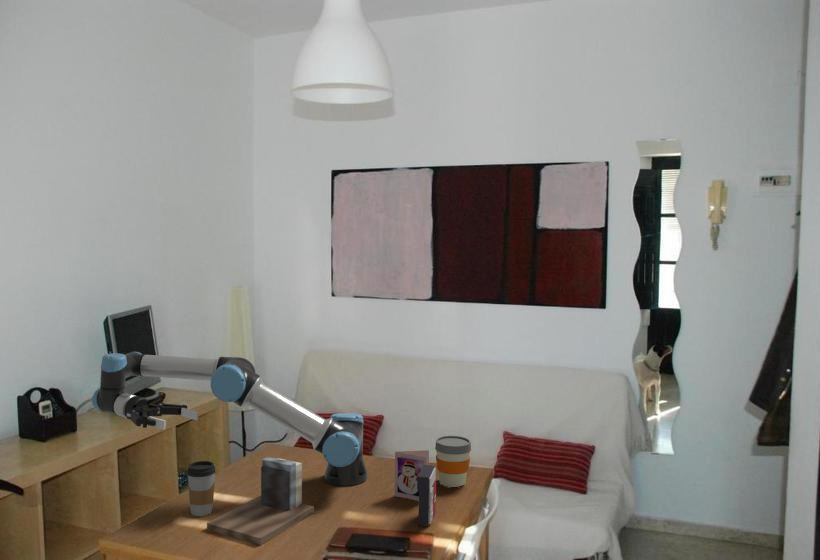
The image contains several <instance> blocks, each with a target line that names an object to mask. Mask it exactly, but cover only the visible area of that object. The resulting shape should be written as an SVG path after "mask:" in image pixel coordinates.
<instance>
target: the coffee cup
mask: <svg viewBox="0 0 820 560" xmlns="http://www.w3.org/2000/svg"><path fill="white" fill-rule="evenodd" d="M186 474H187V479H188V481H187V482H188V484H187V485H188V486H187V487H188V497H189V498H188V499H189V506H190V513H191V515H192V516H193V515H194V516H193V517H197V516H201V517H205V515H206V516H209V515H210V514H211V513H212V511H213V507H214V506H213V505H214V495H215V478H216V477H215V475H216V466H215V464H214V462H212V461H208V460H199V461H195V462H191V463H190V464H189V465H188V468H187V472H186ZM208 514H209V515H208Z"/></svg>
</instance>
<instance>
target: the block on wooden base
mask: <svg viewBox="0 0 820 560" xmlns="http://www.w3.org/2000/svg"><path fill="white" fill-rule="evenodd" d="M261 461H262V463H261V465H262V466H261V467H260V473H261V474H260V495H259V496H257V497H255V498H253V499H251V500H249V501H247V502H245V503H242V504H240V505H239V506H237V507H235V508H233V509H231V510H230V511H228V512H226V513H225V512H224V514H221V515H220V516H218V517H216V518H214V519H212V520H210V521H208V522H206V530H207V531H210V532H213V533H216V534H220V535H224V536H227V537H231V538H234V539H237V540H241V541H244V542H248V543H250V544H255V545H258V546H263V545H264V544H266V543H268V542H269V541H271V540H272V539H274V538H276V537H277V536H279V535H280V534H282V533H283V532H286V531H287V530H288V529H291V528H292V527H293V526H295V525H297V524H298V523H299V522H301V521H303V520H304V518H305V519H307V518H308V517H310V516H311V515H312V513H313V512H314V513H315V506H314V505H310V504H306V503H303V462H298V461H293V460H289V459H285V458H280V457H275V458H274V457H269V456H266V457H264V458H262V459H261ZM314 513H313V514H314ZM310 514H311V515H310ZM307 516H308V517H307ZM291 526H292V527H291Z"/></svg>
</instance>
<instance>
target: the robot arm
mask: <svg viewBox="0 0 820 560" xmlns="http://www.w3.org/2000/svg"><path fill="white" fill-rule="evenodd" d="M132 376H133V377H134V376H135V377H136V376H137V377H138V376H139V377H151V378H152V377H154V378H164V379H165V378H166V379H179V380H180V379H181V380H182V379H183V380H192V381H193V380H196V381H207V382H208V381H209V382H210V389H211V392H212V395H214V397H215V398H216V399H218V400H219V401H221V402H226V403H234V404H235V405H237V406H239V407H241V408H245V407H250V408H252V409H254V411H255V410H256V411H258V412H259V413H260V414H262V415H264V416H265V417H267V418H270V419H271V420H272V421H274V422H276V423H277V424H279V425H281V426H283V427H284V428H286V429H288V430H290V431H291V432H293V433H295V434H297V436H300V437H301V438H303V439H305V440H306V441H308V442H310V443H311V445H312V447H313V449H314V451H316V452H319V454H321V455H323V458H324V459H325V461H326V462H327V464H326V468H325V471H324V480H325V481H326V482H327V483H329V484H331V485H335V486H341V487H342V486H356V485H360V484H362V483H364V482H366V481H367V480H368V469H367V465H366V463H365V460H364V454H363V451H364V449H363V448H364V416H363V414H360V413H355V412H339V413H338V412H337V413H334V414H331V415H330V418H326V419H325V418H324V417H322V416H320V415H319V414H316V413H314V412H313V411H312V410H310V409H308V408H306V407H304V406H303V405H301V404H300V403H298V402H296V401H295V400H293V399H291V398H289V397H287V396H286V395H285V394H282V393H281V392H279V391H277V390H276V389H274V388H272V387H270V386H268V385H267V384H265V383H264V381H263V378H262V376H261V375H259V374H258V373H257V372H256V368H255V366H254V364H253V363H252V362H251V361H250V360H248V359H247V358H245V357H239V356H218V357H217V358H201V357H185V356H172V355H171V356H170V355H169V356H168V355H157V354H155V355H154V354H143V353H141V352H139V351H130V352H128V353H125V354H124V353H118V352H117V353H113V352H112V353H106V354H104V355H103V356H102V357H101V364H100V383H99V385H100V387H99V388H98V389H96V390H95V391H94V393H93V395H92V397H91V404H92V406H93V408H94V409H96V410H99V411H100V412H102V413H107V414H110V415H115V416H117V417H118V416H119V417H123V419H127V420H130V421H131V422H132V423H133V424H134V425H135V426H137V427H141V426H142V428H143V429H145V428H146V429H147V428H148V427H153V428H156V429H159V430H163V431H164V430H166V426H167V420H166V419H161V418H158V417H162V416H165V415H167V416H180V417H182V418H187V419H190V420H194V421H198V419H199V411H198V410H193V409H190V408H188V405H186V404H174V403H173V404H172V403H164V402H158V403H157V404H154V403H150V402H149V400H148V399H147V398H146V397H142V396H138V395H135V394H131V393H127V392H125V390H126V389H125V388H126V379H128V378H130V377H132Z"/></svg>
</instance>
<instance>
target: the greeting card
mask: <svg viewBox="0 0 820 560" xmlns="http://www.w3.org/2000/svg"><path fill="white" fill-rule="evenodd" d="M429 459H430V450H428V449H427V450H426V449H425V450H424V449H423V450H404V451H403V450H401V451H399V450H398V451H394V489H393V490H394V493H393V494H394V495H393V496H394V497H399V498H403V499H407V498H408V500H412V499H414V500H413V501H417V500H419V491H418V489H417V477H418V475H419V473H420V471H421V469H422V467H423V465H430V461H429Z"/></svg>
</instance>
